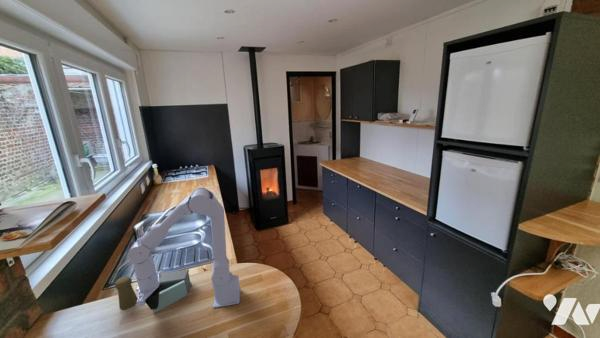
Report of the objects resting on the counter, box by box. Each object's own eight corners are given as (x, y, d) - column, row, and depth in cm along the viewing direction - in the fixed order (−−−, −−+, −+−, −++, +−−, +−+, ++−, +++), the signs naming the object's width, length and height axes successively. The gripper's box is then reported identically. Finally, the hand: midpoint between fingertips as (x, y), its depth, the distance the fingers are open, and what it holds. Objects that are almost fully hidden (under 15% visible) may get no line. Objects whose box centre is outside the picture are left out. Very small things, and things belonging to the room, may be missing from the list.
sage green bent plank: (186, 293, 98) (183, 280, 97) (187, 295, 97) (184, 281, 96) (152, 311, 90) (149, 297, 89) (153, 313, 89) (150, 299, 88)
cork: (128, 310, 92) (121, 285, 89) (115, 308, 93) (108, 283, 90) (141, 298, 98) (135, 274, 95) (129, 297, 99) (122, 273, 96)
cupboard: (191, 283, 104) (188, 269, 103) (187, 293, 99) (184, 278, 97) (158, 289, 102) (155, 274, 101) (152, 299, 97) (149, 284, 95)
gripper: (143, 263, 90) (150, 295, 93) (122, 291, 76) (132, 327, 80) (163, 260, 91) (170, 291, 95) (147, 287, 77) (155, 323, 81)
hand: (154, 307), depth 87 cm, fingers closed
